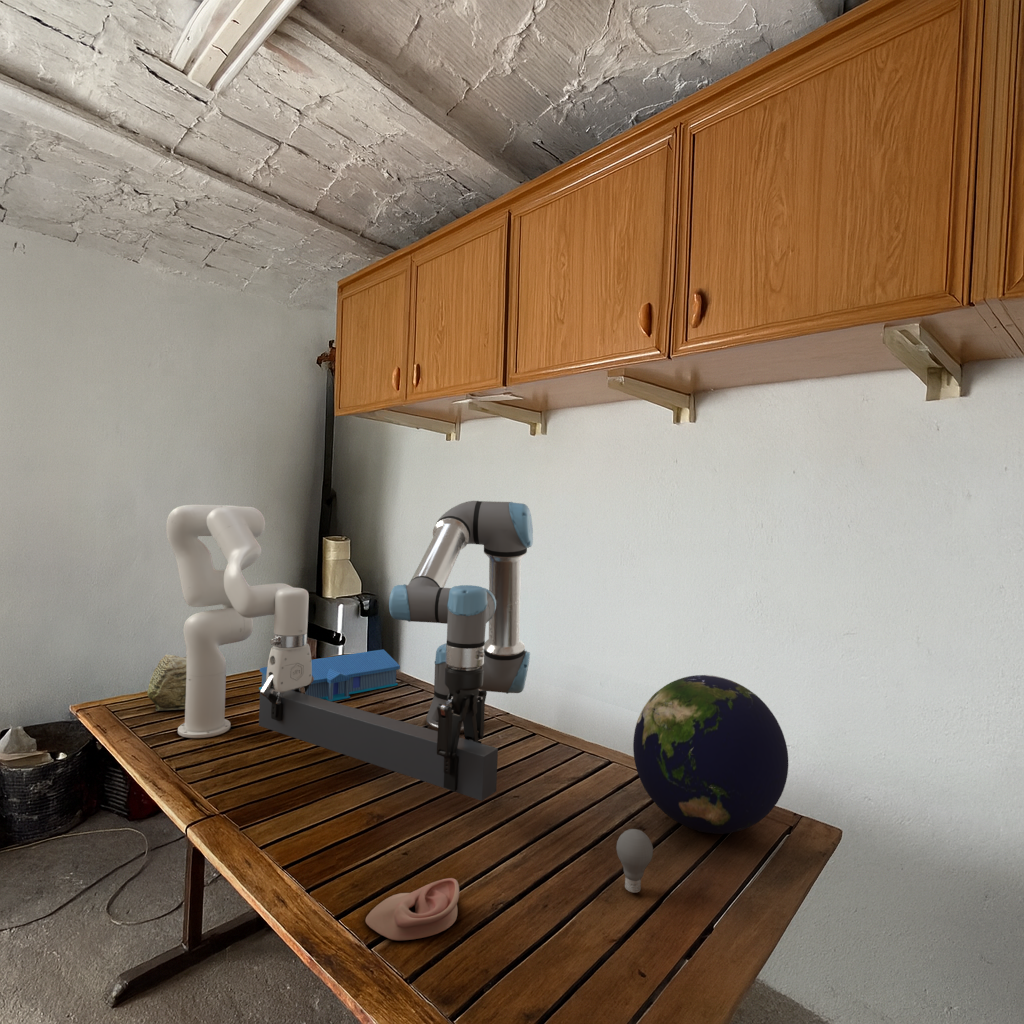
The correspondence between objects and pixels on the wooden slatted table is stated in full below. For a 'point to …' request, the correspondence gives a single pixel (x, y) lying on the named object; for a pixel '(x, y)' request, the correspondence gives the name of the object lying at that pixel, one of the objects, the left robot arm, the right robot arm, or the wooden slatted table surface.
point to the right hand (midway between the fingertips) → (459, 782)
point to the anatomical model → (417, 911)
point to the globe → (710, 754)
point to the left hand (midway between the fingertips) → (286, 715)
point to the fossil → (169, 683)
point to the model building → (349, 674)
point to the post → (382, 742)
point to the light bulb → (634, 857)
